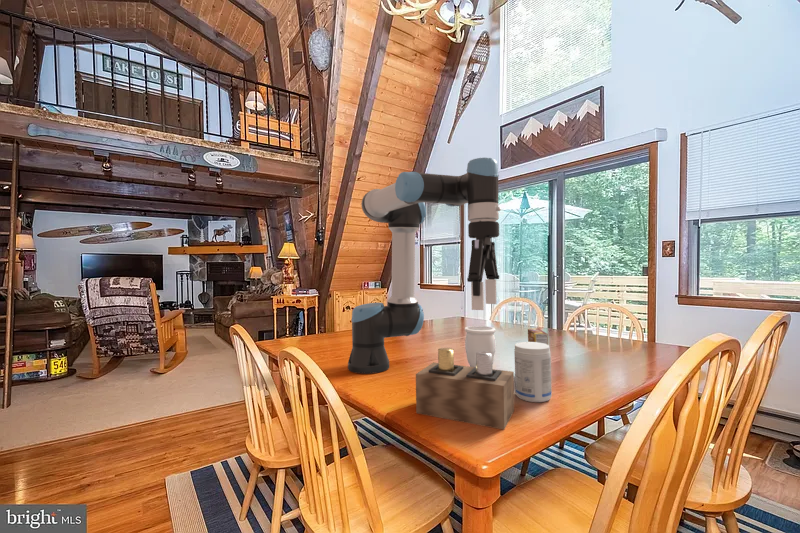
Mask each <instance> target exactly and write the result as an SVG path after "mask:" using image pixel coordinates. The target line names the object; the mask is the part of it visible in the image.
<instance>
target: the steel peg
mask: <svg viewBox="0 0 800 533" xmlns="http://www.w3.org/2000/svg"><path fill="white" fill-rule="evenodd" d="M492 369H493V365H492V353H491V352H486V351H479V352H476V375H480V376H488V377H492V376H493V372H492Z"/></svg>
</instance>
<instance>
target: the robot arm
mask: <svg viewBox="0 0 800 533" xmlns="http://www.w3.org/2000/svg"><path fill="white" fill-rule="evenodd" d="M499 177H500V175H499V168H498V162H497V160H496V159H495V158H491V157H477V158H473V159H470V160H469V161H468V163H467V168H466V173H464V174H461V175H447V174H436V173H425V172H416V171H401V172H400V173H399V174H398V176H397V177H396V180H395V182H394V183H392V184H390V185H388V186H385V187H383V188H381V189H380V188H373V189H371V190H369V191H367V192H366V193H365V195H363V196H362V199H361V204H360V205H361V208H362V212H363V213H364V215H365V217H367V218H368V219H370V220H371V221H373V222H377V223H381V224H382V223H384V224H388V225H387V226H388V229H389V230H390V231H391V233H392V234H391V235H392V236H391V237H392V238H391V296H390V297H389V298H388V299H387V300H386V301H387V305H385V304H384V303H383V302H369V303H368V302H367V303H364V304H360V305H357V306H355V307H354V308H353V309H352V312H351V336H352V337H351V339H352V342H351V344H352V345H351V346H352V347H351V348H352V349H351V351H350V355H349V357H348V362H347V370H348V371H349V372H352V373H355V374H362V375H363V374H377V373H382V372H384V371H385V372H386V371H387V370H389V369H390V359H389V357H388V354H387V350H386V348H385V339H386V338H396V337H409V336H413V335H416V334H418V333H419V332H421V330H422V328H423V325H424V322H425V321H424V320H425V313H424V308H423V307H422V305H421V304H419V300H418V299H417V298H416V297H415V272H416V271H415V265H416V264H415V263H416V262H415V261H416V233H417V232H418V230H420V225H421V224H423V223H424V222H425V220H426V219H425V218H426V216H427V207H426V203H429V204H431V203H432V204H445V205H446V206H448V207H460V206H463V205H466V204H467V221H468V222H469V223H468V224H467V226H468V228H467V229H468V232H467V233H468V238H470V239H472V240H471V251H470V258H469V260H470V261H469V266H468V268H469V269H468V275H467V279H466V280H467V281H466V282H468V283H470V284H471V285H470V288H471V290H470V291H471V294H470V295H471V310H472V311H484V310H485V304H486V305H487V304H488V305H497V280H499V279H500V275H499V273H498V264H497V255H496V247H495V246H496V243H495V241H492V238H493V239H495V238H499V236H500V223H499V222H498V220H499V218H500V214H499V212H500V211H502V207H500V206H499V201H500V200H499ZM484 273H485V277H486V279H485V280H484V281H483V278H484ZM484 283H485V284H484ZM484 285H485V290H484ZM484 294H485V296H484ZM484 301H485V302H484Z"/></svg>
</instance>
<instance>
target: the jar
mask: <svg viewBox="0 0 800 533" xmlns="http://www.w3.org/2000/svg"><path fill="white" fill-rule="evenodd" d="M464 331H465V332H466V334H465V340H464V342H465V344H464V345H465V347H464V348H465V353H466V354H465V355H466V359H467V362H468V364H469V367H476V352H479V351H486V352H491V353H492V366H493V365H494V362H495V355H496V349H497V345H496V344H497V343H496V338H495V336H496V335H495V332H496V328H495V327H491V326H487V325H486V326H485V325H484V326H483V325H472V326H471V325H470V326H465V327H464Z"/></svg>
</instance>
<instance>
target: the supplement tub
mask: <svg viewBox="0 0 800 533" xmlns="http://www.w3.org/2000/svg"><path fill="white" fill-rule="evenodd" d="M513 350H514V381H515V382H514V384H515V386H514V388H515V395H516V396H517V398H519V399H520V400H522V401H526V402H529V403H543V402H544V403H545V402H548V401H549V400H551V399H552V365H551V362H552V361H551V350H550V345H549V344H548V345H547V344H544V343H539V342H528V341H521V342H520V341H519V342H516V343H515V344H514V349H513Z"/></svg>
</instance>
